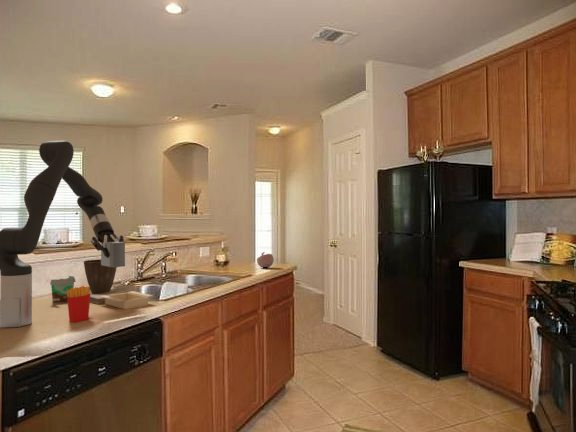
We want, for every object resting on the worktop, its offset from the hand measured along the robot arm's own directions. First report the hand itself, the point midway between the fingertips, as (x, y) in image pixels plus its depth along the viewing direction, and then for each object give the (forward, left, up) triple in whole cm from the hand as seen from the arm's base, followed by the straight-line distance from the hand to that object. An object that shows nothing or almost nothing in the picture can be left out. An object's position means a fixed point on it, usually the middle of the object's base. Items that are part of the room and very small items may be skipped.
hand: (114, 255), depth 187 cm
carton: (-5, -6, -20) cm, 22 cm away
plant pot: (+25, +14, -21) cm, 35 cm away
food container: (+10, +23, -21) cm, 33 cm away
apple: (+120, -70, -21) cm, 140 cm away
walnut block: (+5, +5, -20) cm, 22 cm away
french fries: (-29, +5, -21) cm, 36 cm away
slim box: (+1, +1, -4) cm, 5 cm away
